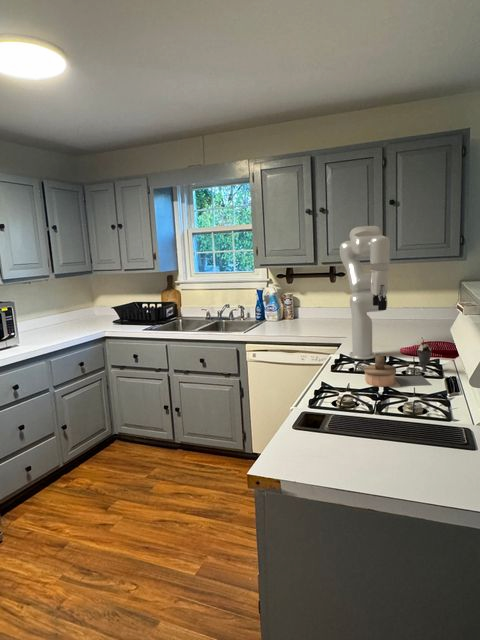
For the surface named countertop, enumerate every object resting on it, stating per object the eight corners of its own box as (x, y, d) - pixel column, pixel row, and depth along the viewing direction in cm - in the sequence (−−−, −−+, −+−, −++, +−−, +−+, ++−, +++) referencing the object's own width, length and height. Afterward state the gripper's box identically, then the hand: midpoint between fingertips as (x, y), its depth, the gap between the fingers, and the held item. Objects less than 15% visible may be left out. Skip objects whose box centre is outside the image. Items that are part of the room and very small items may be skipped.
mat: (392, 378, 185) (392, 376, 185) (421, 376, 185) (421, 375, 184) (400, 387, 174) (400, 386, 174) (432, 386, 173) (432, 385, 173)
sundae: (419, 369, 195) (420, 335, 192) (435, 371, 190) (435, 337, 187) (413, 372, 190) (413, 338, 188) (428, 375, 186) (429, 340, 183)
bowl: (363, 379, 186) (362, 368, 185) (390, 378, 185) (390, 366, 184) (369, 388, 175) (368, 376, 174) (398, 387, 174) (398, 375, 173)
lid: (361, 367, 186) (360, 353, 185) (391, 366, 185) (391, 352, 184) (367, 376, 174) (367, 361, 172) (400, 375, 173) (400, 360, 172)
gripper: (366, 265, 192) (366, 304, 196) (375, 270, 175) (375, 312, 179) (383, 264, 192) (383, 303, 195) (394, 269, 175) (394, 311, 179)
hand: (379, 307), depth 187 cm, fingers open, 9 cm apart
